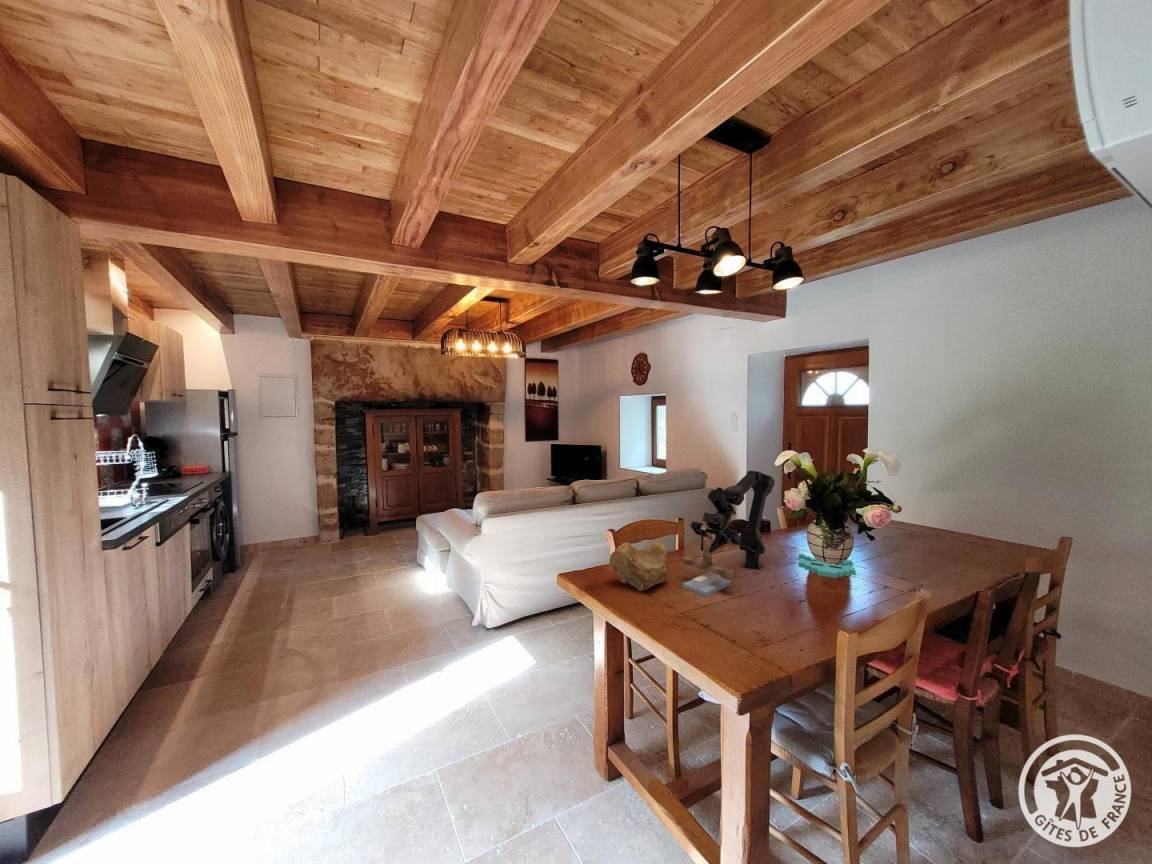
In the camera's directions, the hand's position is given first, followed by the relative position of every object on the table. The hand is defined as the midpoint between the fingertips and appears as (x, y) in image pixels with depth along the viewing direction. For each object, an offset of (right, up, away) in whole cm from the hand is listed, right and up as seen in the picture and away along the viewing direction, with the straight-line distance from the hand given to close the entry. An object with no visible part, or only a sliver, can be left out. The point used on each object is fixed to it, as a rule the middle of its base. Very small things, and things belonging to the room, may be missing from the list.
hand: (705, 551), depth 158 cm
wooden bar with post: (+1, -7, +1) cm, 7 cm away
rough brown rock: (-23, -14, +3) cm, 27 cm away
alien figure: (+56, -13, +20) cm, 61 cm away
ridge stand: (+1, -13, +2) cm, 13 cm away
